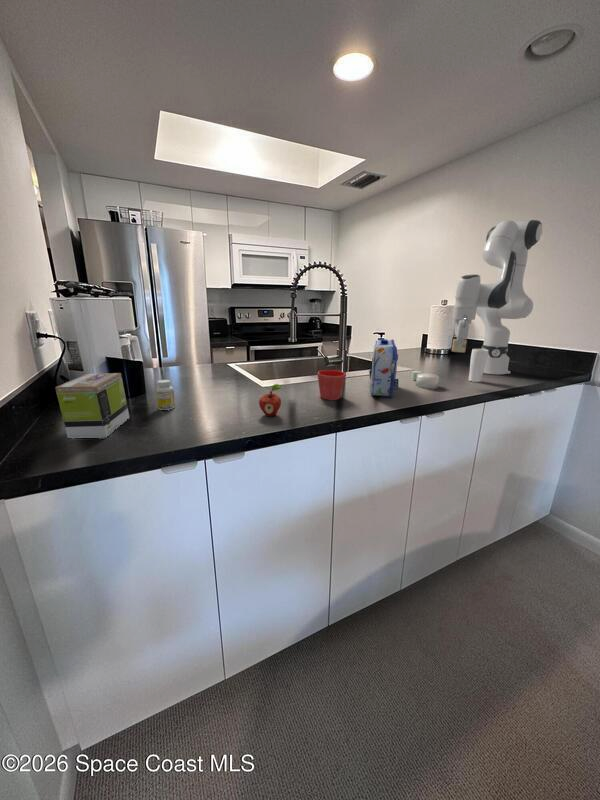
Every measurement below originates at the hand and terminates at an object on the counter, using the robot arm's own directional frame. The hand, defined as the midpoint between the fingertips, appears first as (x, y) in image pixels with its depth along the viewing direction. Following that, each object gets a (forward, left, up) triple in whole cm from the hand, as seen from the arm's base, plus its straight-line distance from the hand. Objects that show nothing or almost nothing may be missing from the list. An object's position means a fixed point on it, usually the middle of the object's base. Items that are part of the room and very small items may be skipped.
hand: (458, 347), depth 139 cm
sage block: (-2, -16, -17) cm, 23 cm away
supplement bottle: (+79, -92, -17) cm, 123 cm away
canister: (+9, -11, -17) cm, 22 cm away
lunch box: (+26, -28, -17) cm, 42 cm away
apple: (+70, -57, -17) cm, 92 cm away
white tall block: (-11, +10, -17) cm, 22 cm away
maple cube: (0, 0, -2) cm, 2 cm away
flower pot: (+43, -45, -17) cm, 65 cm away
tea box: (+100, -96, -17) cm, 140 cm away
